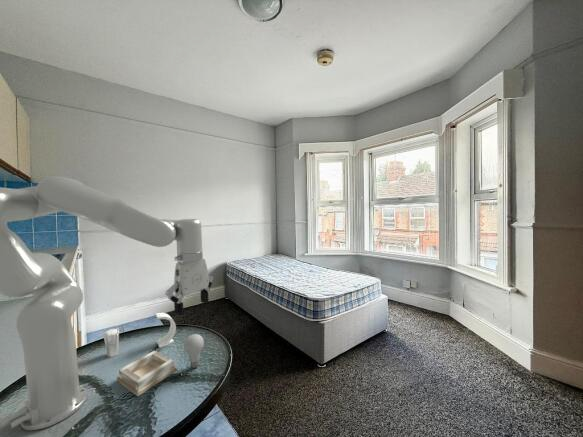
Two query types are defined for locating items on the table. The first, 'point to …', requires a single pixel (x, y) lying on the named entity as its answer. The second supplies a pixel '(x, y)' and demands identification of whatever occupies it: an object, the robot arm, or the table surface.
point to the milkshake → (112, 342)
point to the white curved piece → (168, 337)
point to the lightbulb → (194, 348)
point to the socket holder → (146, 372)
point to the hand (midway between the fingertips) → (192, 308)
